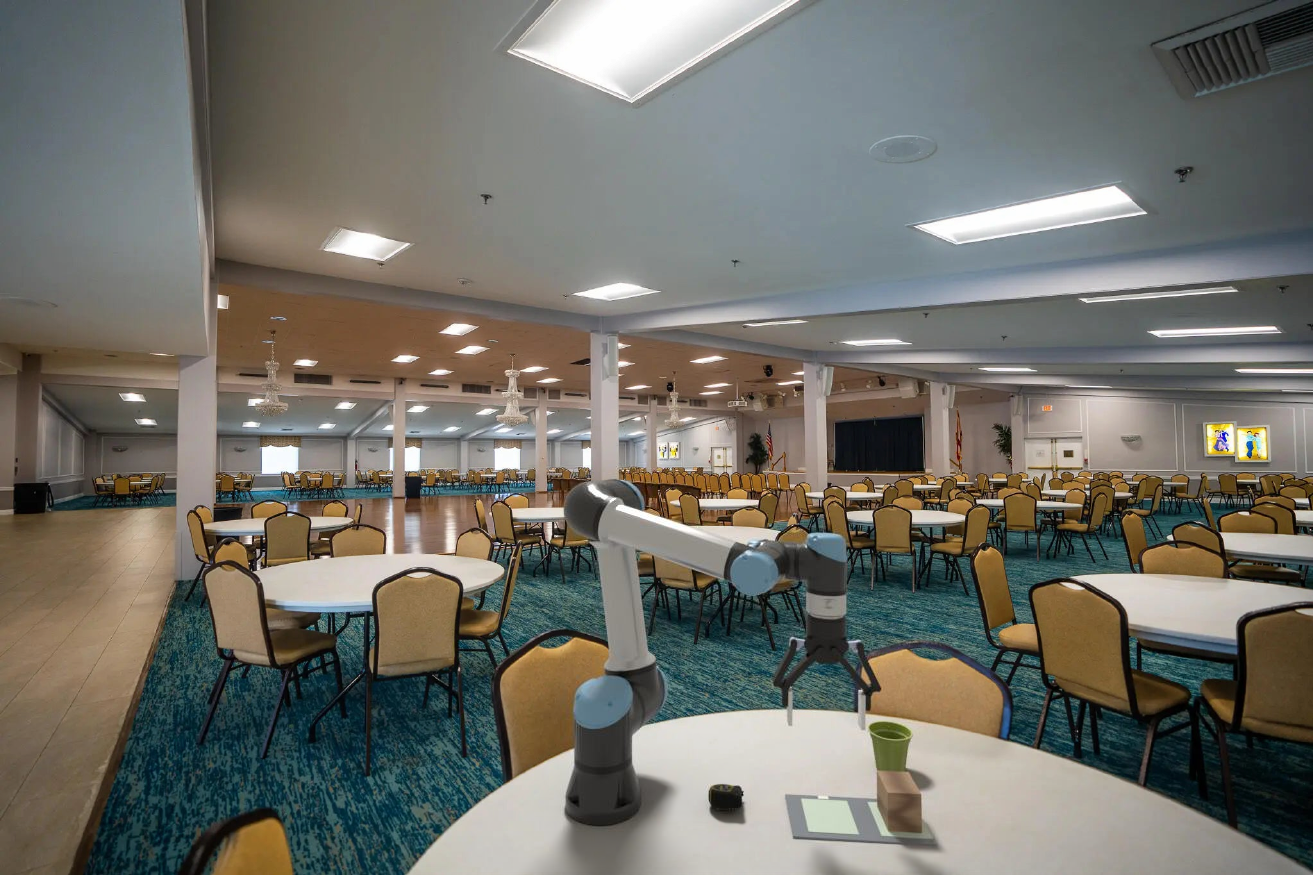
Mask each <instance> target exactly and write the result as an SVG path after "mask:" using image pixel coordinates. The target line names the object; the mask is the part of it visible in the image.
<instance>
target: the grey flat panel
mask: <svg viewBox="0 0 1313 875" xmlns="http://www.w3.org/2000/svg"><path fill="white" fill-rule="evenodd" d="M784 796H785V797H784V798H785V799H784V800H785V802H786V803H785V804H786V809H787V813H788V819H789V820H788V821H789V825H790V829H791V834H792V839H797V840H798V839H799V840H817V841H818V840H819V841H835V842H837V841H838V842H839V841H840V842H856V843H857V842H858V843H875V844H876V843H877V844H891V845H892V844H894V845H895V844H896V845H910V846H911V845H913V846H927V847H928V846H929V845H933V846H932V847H935V846H934V845H936V846H937V843H936V841H935V840H934V838H933V836H932V834H931V832H930V829H929V828H928V826H927V824H926V823H925V821H924V819H923V818H922V833H911V832H894V831H888V830H887V828H886V825H885V823H884V821H883V819H882V816H881V814H880V812H879V810H878V807H877V798H869V797H867V798H865V797H848V796H846V797H845V796H832V795H831V796H829V795H828V796H827V795H810V794H809V795H808V794H792V793H791V794H789V793H784Z"/></svg>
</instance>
